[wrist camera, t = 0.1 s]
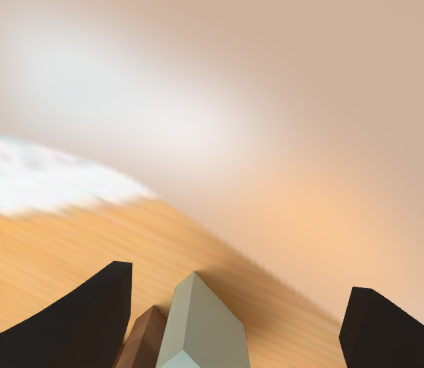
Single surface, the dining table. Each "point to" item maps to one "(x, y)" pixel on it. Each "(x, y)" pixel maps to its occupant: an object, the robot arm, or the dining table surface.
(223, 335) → the domino
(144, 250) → the dining table surface
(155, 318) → the domino
